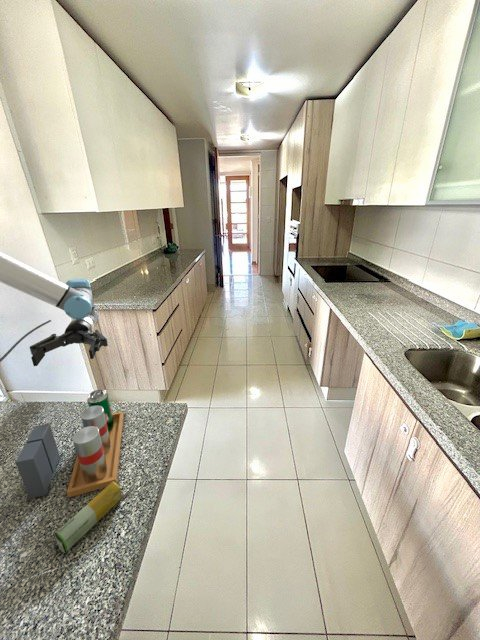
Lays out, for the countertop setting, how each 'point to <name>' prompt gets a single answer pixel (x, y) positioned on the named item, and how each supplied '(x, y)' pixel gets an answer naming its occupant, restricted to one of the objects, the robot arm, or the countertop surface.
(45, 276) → the robot arm
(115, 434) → the can tray
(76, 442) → the matching cans
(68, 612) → the countertop surface
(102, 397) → the soda can
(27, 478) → the grey packets
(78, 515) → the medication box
